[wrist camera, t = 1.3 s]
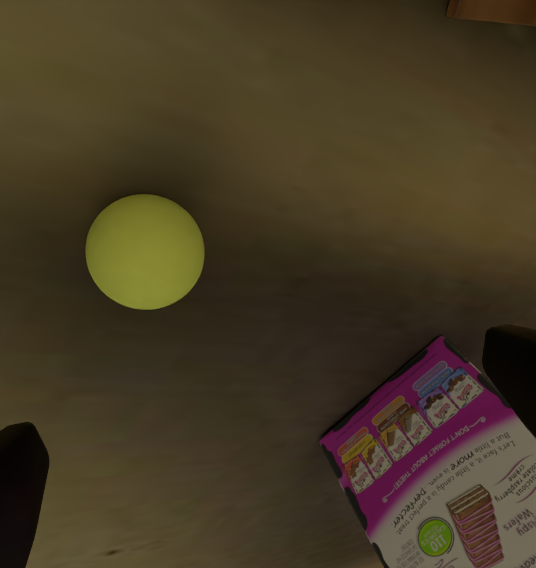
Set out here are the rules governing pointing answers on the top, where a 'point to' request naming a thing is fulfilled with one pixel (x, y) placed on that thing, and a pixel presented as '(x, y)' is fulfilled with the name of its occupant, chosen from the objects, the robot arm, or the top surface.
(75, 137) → the top surface
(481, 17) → the cabinet
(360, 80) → the top surface
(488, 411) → the candy bar box
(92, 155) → the top surface
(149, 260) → the ball
